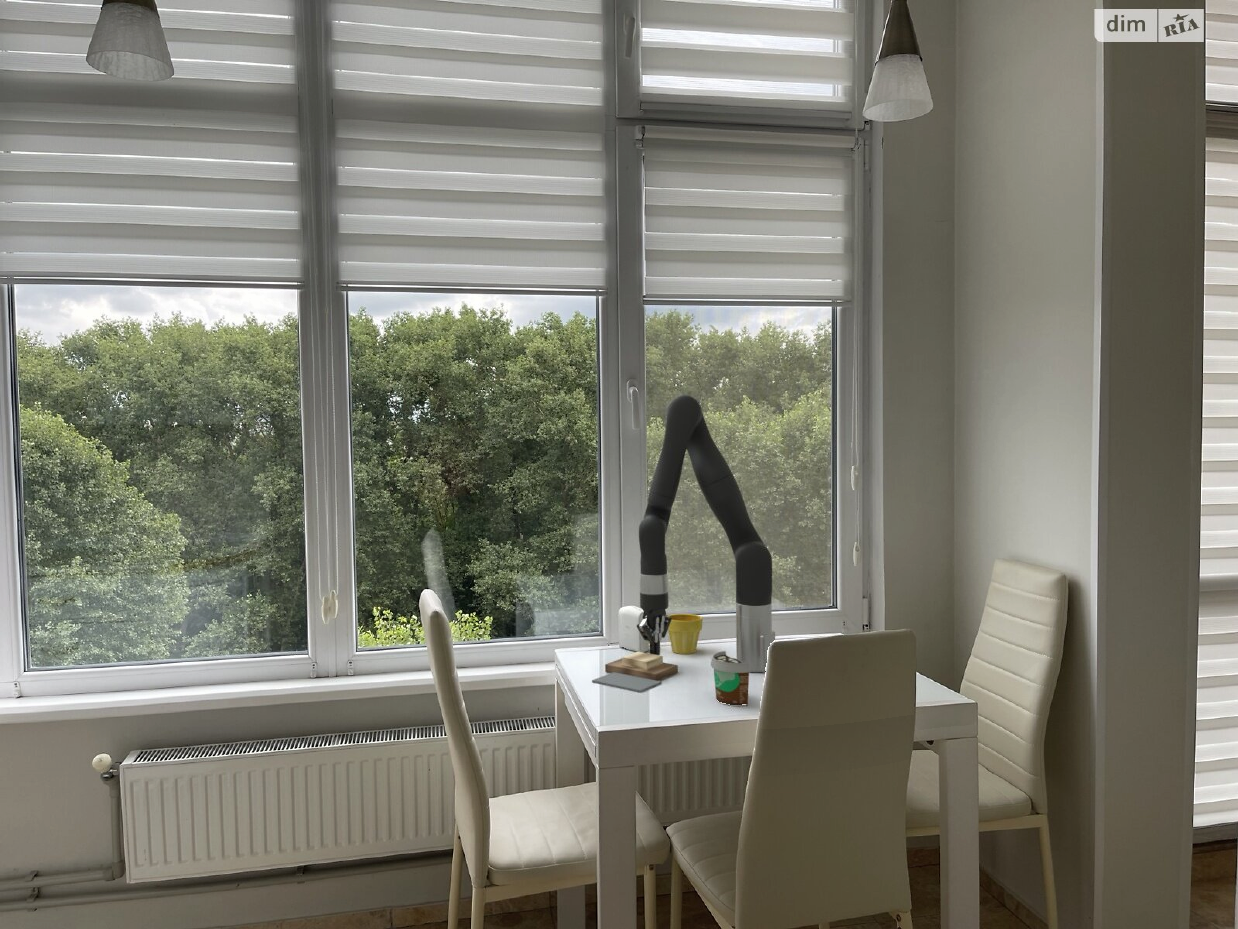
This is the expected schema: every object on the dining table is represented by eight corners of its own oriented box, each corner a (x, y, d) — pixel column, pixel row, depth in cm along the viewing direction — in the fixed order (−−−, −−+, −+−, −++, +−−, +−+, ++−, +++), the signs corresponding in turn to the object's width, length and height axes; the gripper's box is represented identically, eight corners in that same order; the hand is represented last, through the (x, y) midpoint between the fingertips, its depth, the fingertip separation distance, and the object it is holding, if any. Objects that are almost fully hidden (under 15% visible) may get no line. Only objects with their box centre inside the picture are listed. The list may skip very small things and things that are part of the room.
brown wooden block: (677, 672, 221) (677, 665, 221) (655, 682, 213) (655, 674, 213) (628, 663, 231) (628, 656, 231) (605, 672, 223) (605, 664, 223)
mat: (661, 683, 212) (661, 681, 212) (640, 692, 205) (640, 690, 205) (613, 674, 221) (613, 672, 221) (592, 682, 214) (592, 680, 214)
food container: (701, 695, 202) (701, 653, 202) (725, 692, 204) (724, 650, 204) (726, 710, 191) (726, 666, 190) (751, 707, 193) (750, 663, 192)
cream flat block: (662, 663, 223) (662, 656, 223) (647, 669, 217) (646, 662, 217) (638, 659, 228) (638, 651, 228) (622, 665, 222) (621, 657, 222)
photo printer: (616, 647, 249) (615, 605, 248) (627, 644, 252) (627, 602, 251) (639, 654, 241) (639, 610, 240) (651, 651, 244) (650, 608, 243)
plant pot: (701, 646, 248) (701, 613, 247) (703, 656, 238) (703, 620, 237) (665, 646, 248) (665, 613, 248) (666, 656, 238) (665, 621, 238)
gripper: (650, 596, 219) (651, 663, 220) (679, 588, 229) (680, 652, 230) (627, 593, 224) (628, 658, 224) (657, 585, 234) (658, 648, 235)
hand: (655, 655), depth 227 cm, fingers closed
